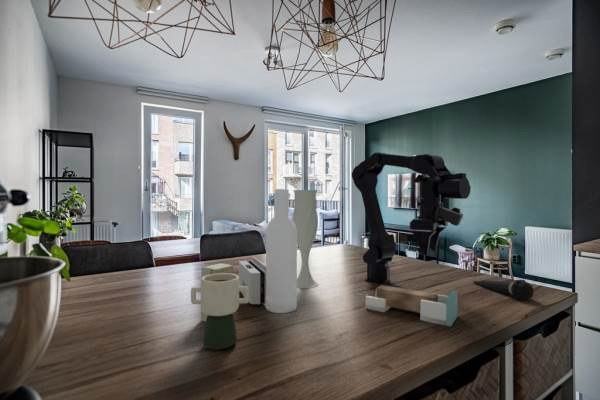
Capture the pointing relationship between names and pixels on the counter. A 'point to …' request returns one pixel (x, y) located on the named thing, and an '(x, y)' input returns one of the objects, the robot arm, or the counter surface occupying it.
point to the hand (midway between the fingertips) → (429, 252)
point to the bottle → (281, 257)
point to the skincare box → (215, 270)
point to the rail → (404, 297)
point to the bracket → (253, 280)
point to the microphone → (510, 288)
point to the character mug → (219, 307)
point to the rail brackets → (426, 308)
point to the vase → (305, 232)
